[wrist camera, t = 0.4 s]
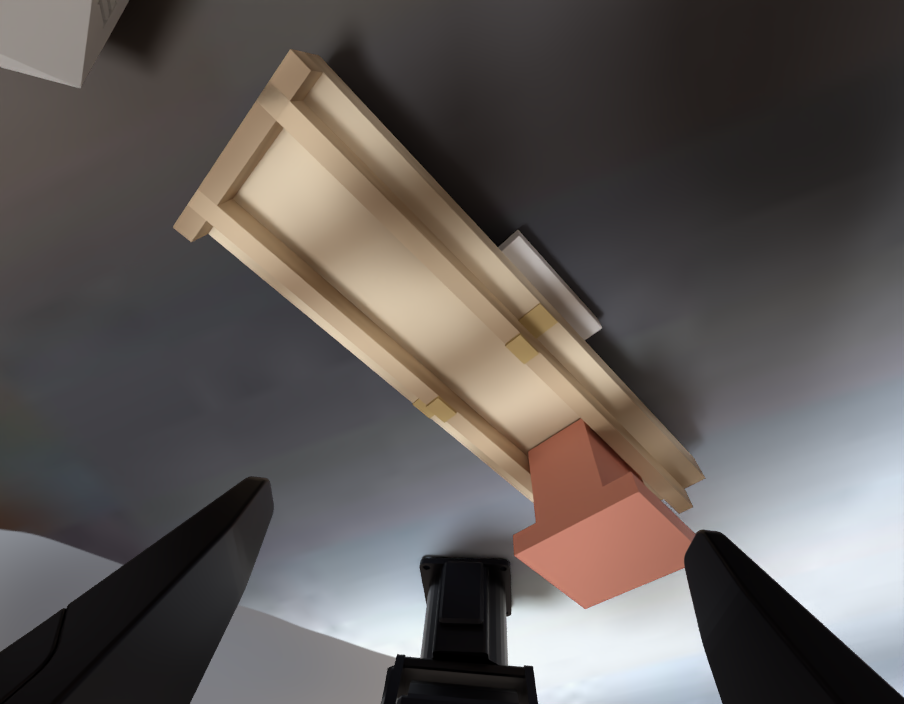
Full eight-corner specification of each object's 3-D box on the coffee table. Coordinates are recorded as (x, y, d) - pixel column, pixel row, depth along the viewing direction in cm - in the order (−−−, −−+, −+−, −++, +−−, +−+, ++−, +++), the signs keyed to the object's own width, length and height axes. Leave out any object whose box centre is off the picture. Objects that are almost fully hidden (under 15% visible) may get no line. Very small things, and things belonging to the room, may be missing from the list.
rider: (662, 462, 22) (708, 557, 18) (566, 512, 25) (585, 609, 20) (605, 403, 21) (638, 491, 16) (508, 463, 23) (514, 555, 19)
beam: (703, 436, 25) (737, 490, 21) (559, 513, 29) (568, 569, 25) (343, 35, 16) (306, 19, 13) (211, 221, 20) (157, 246, 17)
